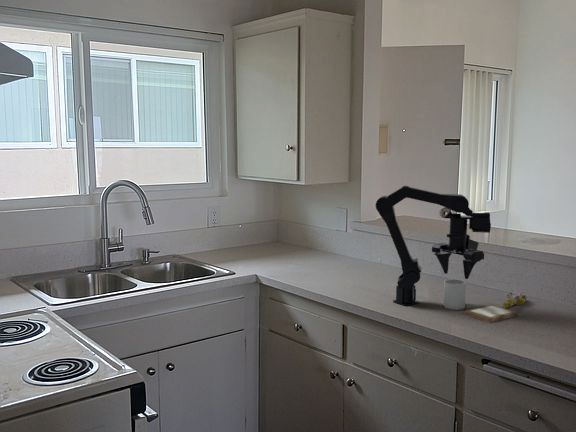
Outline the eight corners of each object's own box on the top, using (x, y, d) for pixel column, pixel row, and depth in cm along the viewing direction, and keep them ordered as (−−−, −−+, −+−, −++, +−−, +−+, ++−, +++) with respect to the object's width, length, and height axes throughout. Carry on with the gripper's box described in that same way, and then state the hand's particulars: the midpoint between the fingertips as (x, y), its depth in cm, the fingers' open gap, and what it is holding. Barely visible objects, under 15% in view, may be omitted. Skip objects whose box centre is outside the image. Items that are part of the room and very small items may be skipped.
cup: (440, 307, 197) (441, 282, 196) (449, 301, 205) (450, 277, 204) (461, 311, 193) (462, 285, 192) (469, 304, 201) (470, 279, 200)
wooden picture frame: (489, 322, 181) (489, 318, 181) (464, 314, 189) (464, 310, 189) (517, 315, 188) (517, 311, 188) (492, 308, 197) (492, 304, 196)
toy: (496, 301, 198) (510, 290, 210) (505, 315, 197) (519, 303, 208) (508, 294, 195) (522, 283, 206) (518, 308, 194) (531, 296, 205)
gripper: (496, 233, 192) (493, 278, 194) (453, 226, 208) (451, 268, 210) (473, 236, 186) (471, 282, 188) (431, 228, 202) (429, 271, 204)
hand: (456, 276), depth 198 cm, fingers open, 9 cm apart
